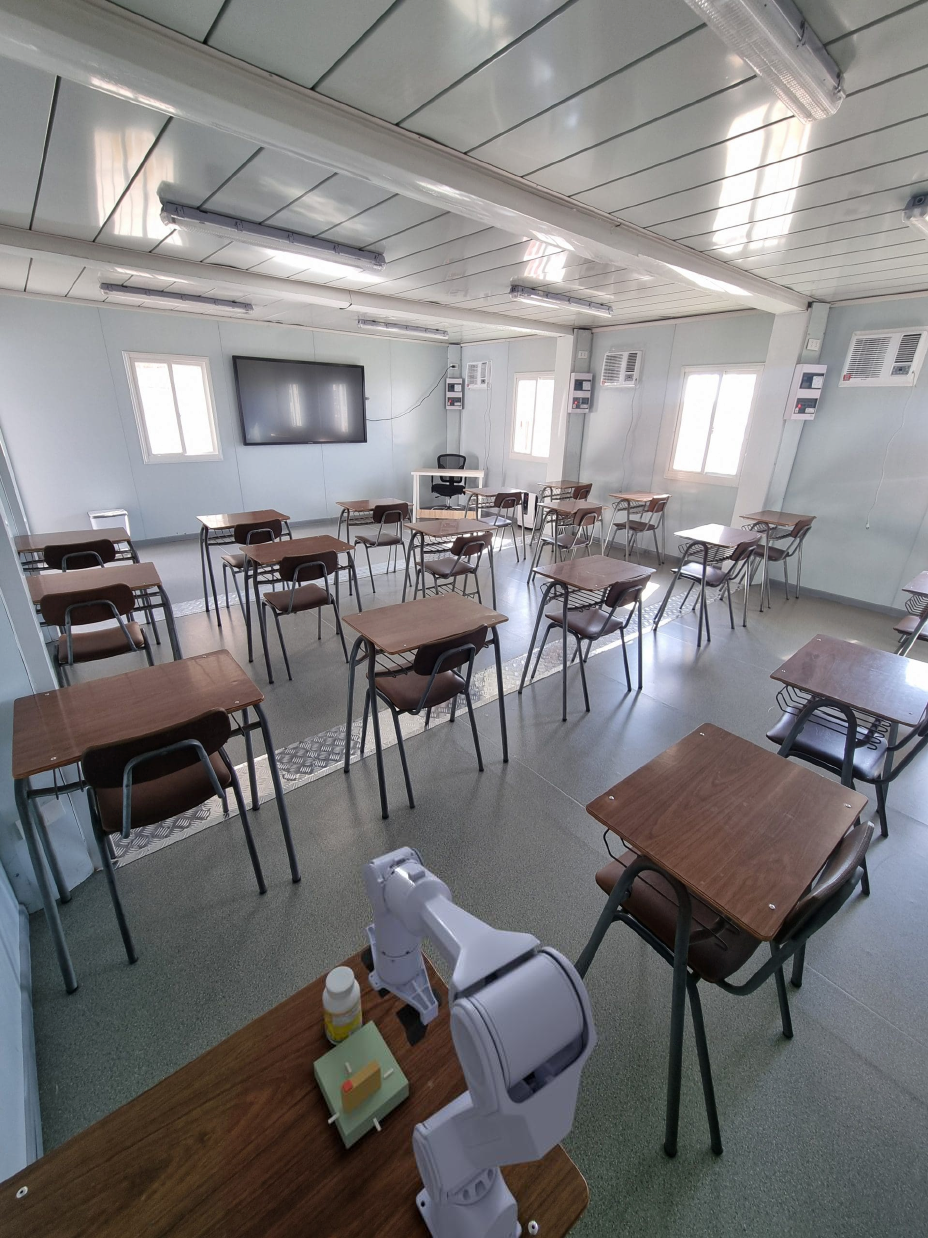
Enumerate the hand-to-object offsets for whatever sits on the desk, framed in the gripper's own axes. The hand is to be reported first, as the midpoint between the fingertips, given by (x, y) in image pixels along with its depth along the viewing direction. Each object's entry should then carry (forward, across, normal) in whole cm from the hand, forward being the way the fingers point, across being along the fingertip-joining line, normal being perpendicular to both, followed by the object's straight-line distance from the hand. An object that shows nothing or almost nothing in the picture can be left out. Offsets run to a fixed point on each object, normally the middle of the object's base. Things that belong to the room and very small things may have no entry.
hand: (401, 1015), depth 67 cm
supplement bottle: (+11, -10, -4) cm, 15 cm away
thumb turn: (+8, +1, -7) cm, 10 cm away
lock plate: (+10, -1, -6) cm, 12 cm away
